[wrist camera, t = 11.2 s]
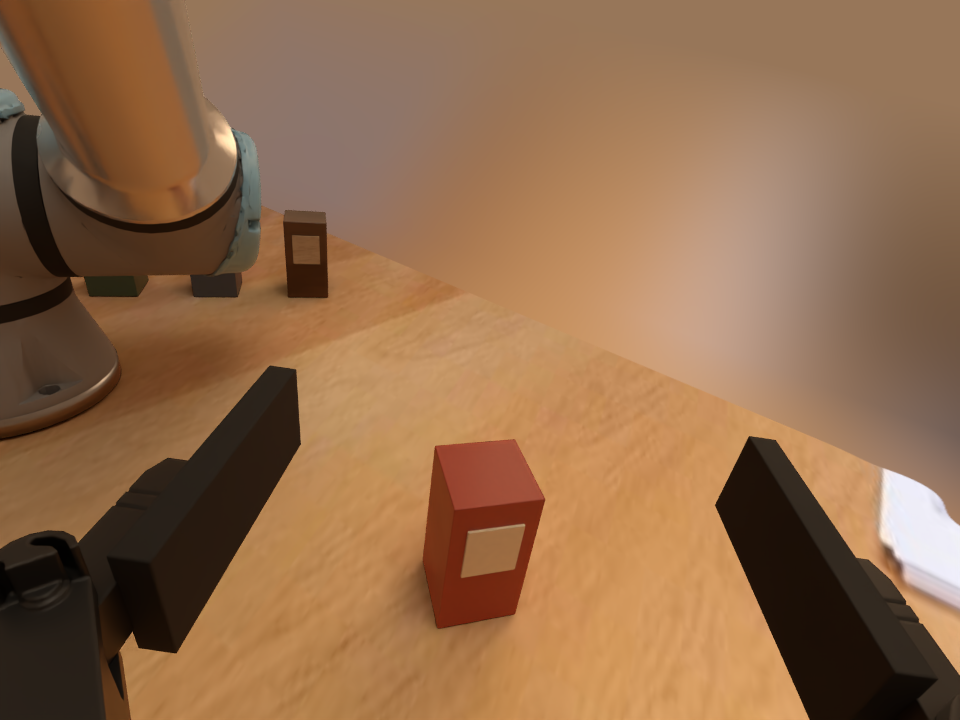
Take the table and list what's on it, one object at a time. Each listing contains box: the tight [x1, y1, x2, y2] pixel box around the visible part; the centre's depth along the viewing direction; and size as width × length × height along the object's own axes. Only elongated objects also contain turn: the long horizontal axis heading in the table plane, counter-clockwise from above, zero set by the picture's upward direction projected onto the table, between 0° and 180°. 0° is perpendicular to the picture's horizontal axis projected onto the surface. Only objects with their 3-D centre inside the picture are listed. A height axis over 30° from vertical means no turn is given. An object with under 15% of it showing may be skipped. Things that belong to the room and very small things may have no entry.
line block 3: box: [283, 210, 328, 297], centre depth 67 cm, size 5×5×10 cm
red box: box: [423, 439, 545, 628], centre depth 31 cm, size 5×5×10 cm
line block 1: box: [84, 275, 148, 296], centre depth 61 cm, size 5×5×10 cm
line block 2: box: [190, 272, 242, 297], centre depth 64 cm, size 5×5×10 cm
